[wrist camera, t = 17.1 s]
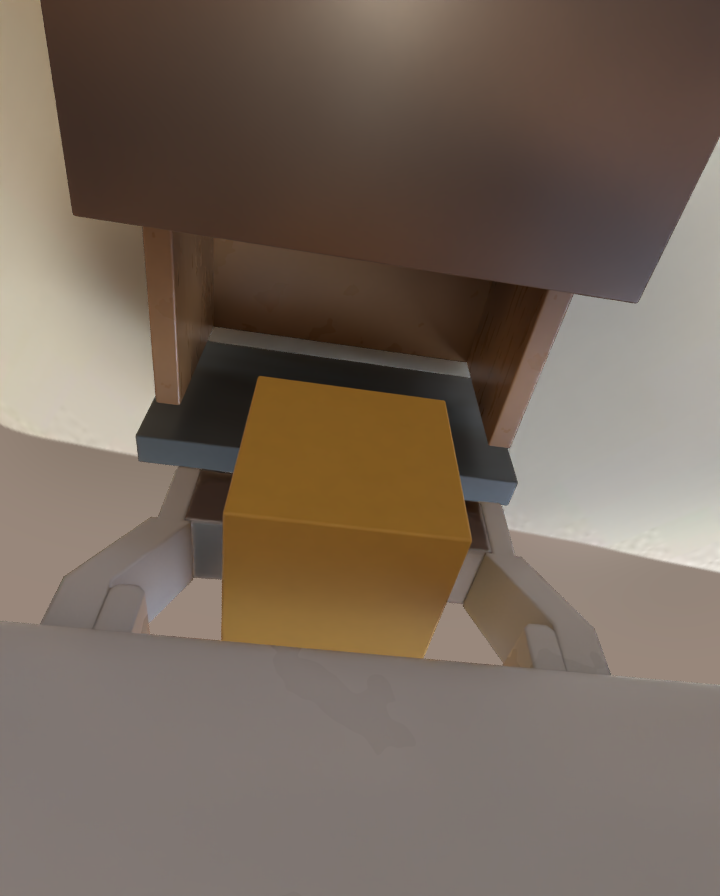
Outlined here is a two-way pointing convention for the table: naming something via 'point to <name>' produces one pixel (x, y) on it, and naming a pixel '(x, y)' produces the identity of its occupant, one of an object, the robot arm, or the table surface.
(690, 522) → the table surface
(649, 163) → the cabinet
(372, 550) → the block
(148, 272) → the drawer
